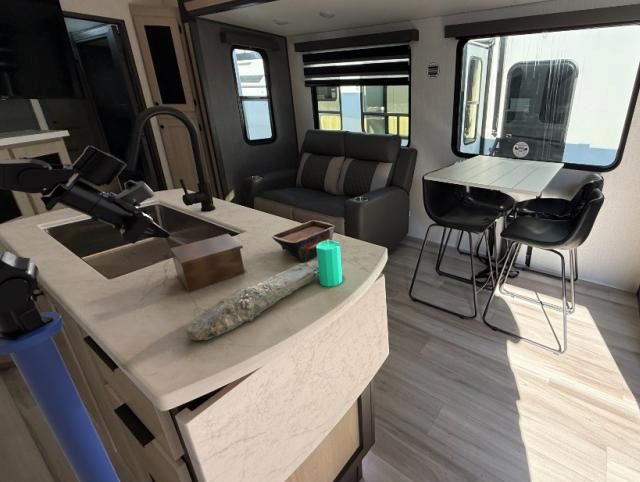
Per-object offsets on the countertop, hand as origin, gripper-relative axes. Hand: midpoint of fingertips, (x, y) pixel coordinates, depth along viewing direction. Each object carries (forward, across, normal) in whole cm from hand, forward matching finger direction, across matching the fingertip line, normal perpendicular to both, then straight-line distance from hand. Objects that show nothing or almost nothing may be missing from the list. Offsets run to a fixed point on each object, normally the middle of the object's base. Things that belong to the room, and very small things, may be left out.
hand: (169, 235), depth 78 cm
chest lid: (+10, 0, -1) cm, 10 cm away
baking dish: (+33, -6, -14) cm, 36 cm away
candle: (+30, -27, -10) cm, 41 cm away
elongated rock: (+19, -23, +1) cm, 30 cm away
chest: (+14, 0, +5) cm, 15 cm away
